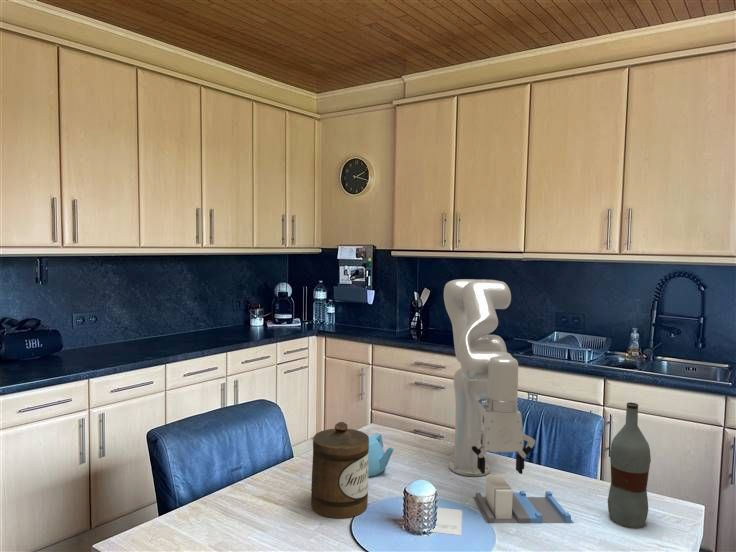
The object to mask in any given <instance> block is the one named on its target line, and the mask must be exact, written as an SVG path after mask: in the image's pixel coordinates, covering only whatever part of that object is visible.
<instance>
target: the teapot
mask: <svg viewBox="0 0 736 552" xmlns="http://www.w3.org/2000/svg"><path fill="white" fill-rule="evenodd" d="M366 434H367V433H366ZM367 435H368V437H369V462H368V473H369V474H368V478H371V477H375V476H379V475H380V474H381V473H382V472H383V471H384V470H385V468H386V467H387V466H388V463H389V461H390V459H391V456H392V455H393V452H394V447H390V446H389V447H387V449H386V450H384V443H383V437H382V436H383V435H382V433H379V432H376V433H374V434H373V435H372V436H370V435H369V434H367Z"/></svg>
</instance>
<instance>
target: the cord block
mask: <svg viewBox="0 0 736 552" xmlns="http://www.w3.org/2000/svg"><path fill="white" fill-rule="evenodd" d="M485 477H486V479H485V497H486V502H487V504H488V506H489V507H490V509H491V511H492V513H493V515H494V517H495V518H496V519H512V498H513V493H514V492H513V490H512V487H510V485H509V484H508V482H507V481H506V480H505V478H504V477H503V475H502V474H486V475H485Z"/></svg>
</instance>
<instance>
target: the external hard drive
mask: <svg viewBox="0 0 736 552" xmlns="http://www.w3.org/2000/svg"><path fill="white" fill-rule="evenodd" d="M462 527H463V510H461V509H454V508H446V507H445V508H444V507H438V509H437V521H436V526H435V528H434V529H432V530H430V531H428V532H427V531H426V536H430V535H429V533H435V534H442V535H452V536H459V537H461V536H462V530H463V529H462Z"/></svg>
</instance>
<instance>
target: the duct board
mask: <svg viewBox="0 0 736 552" xmlns="http://www.w3.org/2000/svg"><path fill="white" fill-rule="evenodd" d="M472 499H473V500H474V502H475V504H476V506H477V508H478V511H479V512H480V514H481V516H482V518H483V520H484V522H485V524H574V523H575V522H574V521H573V519H572V516H571V514H570V513H569V512H568V511H565V509H564V508H563V507H562V505H560V503H559V502H558V501H557V500H556V499H555V498H554V496H553V492H551V490H545V493H544V496H534V497H533V496H527V493H526V492H525V491H524V490H519V492H513V498H512V519H496V518H495V517H494V515H493V513H492V511H491V509H490V507H489V506H488V504H487V502H486V496H482V494H481V492H475V496H472Z"/></svg>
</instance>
